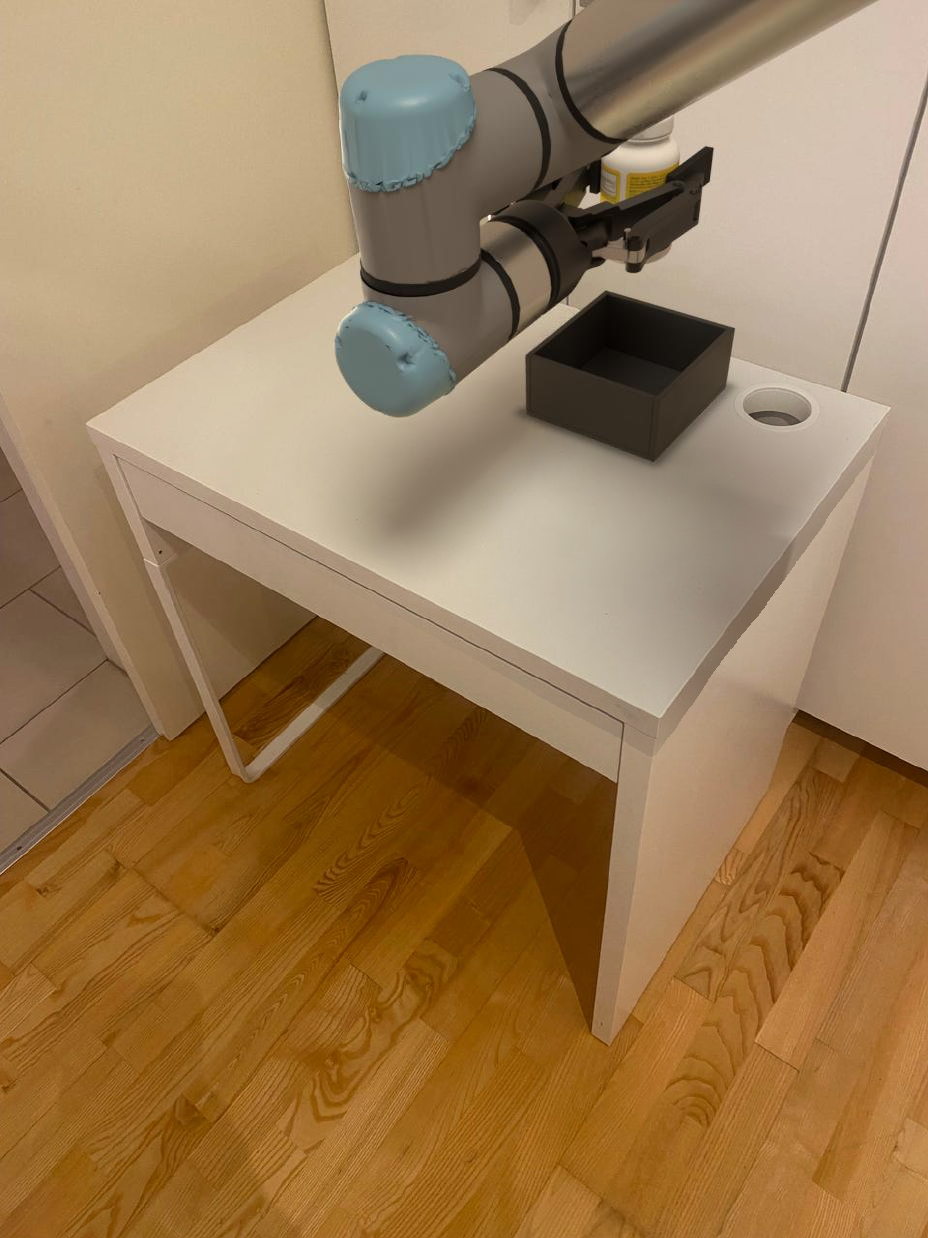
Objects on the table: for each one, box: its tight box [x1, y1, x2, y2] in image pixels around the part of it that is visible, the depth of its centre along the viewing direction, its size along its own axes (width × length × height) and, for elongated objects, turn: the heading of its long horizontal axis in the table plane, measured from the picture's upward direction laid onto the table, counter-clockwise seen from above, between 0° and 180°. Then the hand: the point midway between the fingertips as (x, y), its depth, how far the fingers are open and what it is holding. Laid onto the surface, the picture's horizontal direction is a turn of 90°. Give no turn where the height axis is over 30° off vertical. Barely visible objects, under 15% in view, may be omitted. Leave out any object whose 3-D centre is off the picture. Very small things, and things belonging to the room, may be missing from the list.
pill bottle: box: [599, 114, 681, 265], centre depth 78 cm, size 6×6×11 cm
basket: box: [524, 289, 736, 462], centre depth 92 cm, size 14×14×6 cm
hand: (669, 156), depth 80 cm, fingers closed on pill bottle, 6 cm apart
